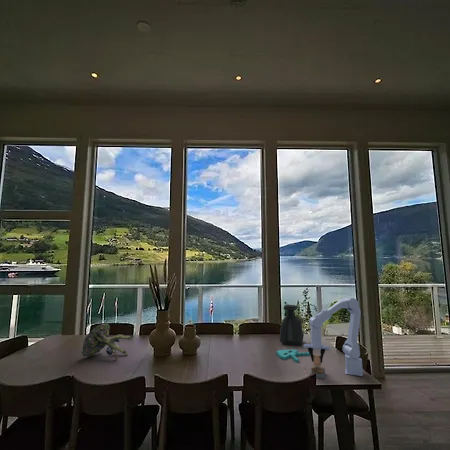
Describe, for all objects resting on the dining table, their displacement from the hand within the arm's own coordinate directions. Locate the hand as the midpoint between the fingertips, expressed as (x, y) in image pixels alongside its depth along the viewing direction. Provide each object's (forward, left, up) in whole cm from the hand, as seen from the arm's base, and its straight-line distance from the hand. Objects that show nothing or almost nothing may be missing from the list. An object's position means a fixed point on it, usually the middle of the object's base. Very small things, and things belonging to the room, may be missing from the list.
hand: (317, 361), depth 172 cm
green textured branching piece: (+142, +16, -8) cm, 143 cm away
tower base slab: (0, 0, -8) cm, 8 cm away
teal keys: (+21, -31, -8) cm, 38 cm away
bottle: (+26, -67, -8) cm, 72 cm away
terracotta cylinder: (0, 0, -1) cm, 1 cm away
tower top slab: (0, 0, -6) cm, 6 cm away
